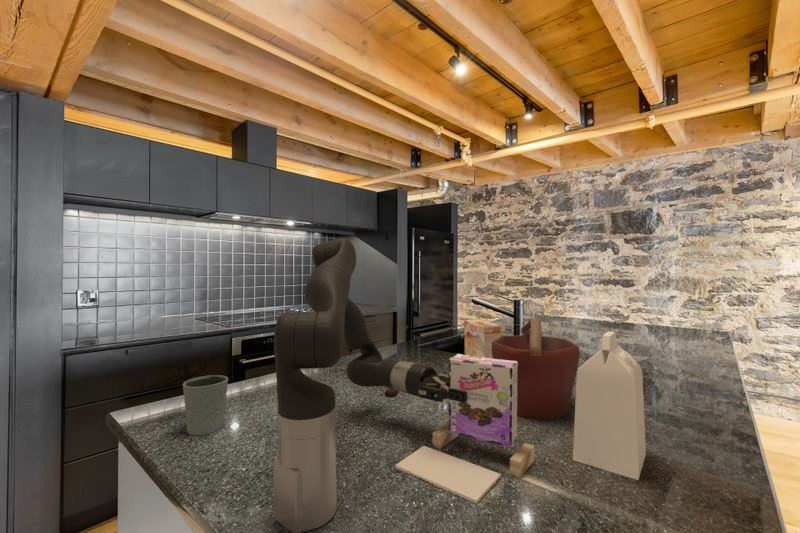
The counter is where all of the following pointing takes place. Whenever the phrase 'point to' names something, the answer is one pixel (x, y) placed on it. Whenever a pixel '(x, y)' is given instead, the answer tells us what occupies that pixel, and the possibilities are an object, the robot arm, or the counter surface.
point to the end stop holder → (517, 461)
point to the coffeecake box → (480, 337)
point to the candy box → (484, 399)
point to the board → (449, 473)
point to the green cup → (205, 404)
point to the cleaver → (390, 392)
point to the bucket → (540, 371)
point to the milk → (610, 411)
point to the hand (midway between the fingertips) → (474, 393)
